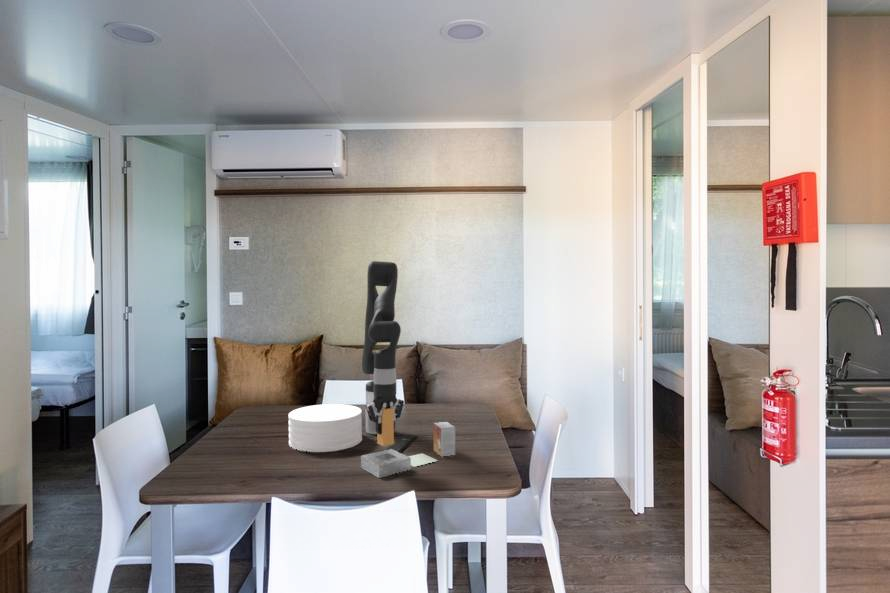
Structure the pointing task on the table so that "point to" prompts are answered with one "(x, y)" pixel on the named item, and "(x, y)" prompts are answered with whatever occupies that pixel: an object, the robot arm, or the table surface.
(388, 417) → the key peg
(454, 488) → the table surface
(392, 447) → the remote control
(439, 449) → the small box
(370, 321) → the robot arm
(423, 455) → the mat
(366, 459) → the socket block
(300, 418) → the plate stack
